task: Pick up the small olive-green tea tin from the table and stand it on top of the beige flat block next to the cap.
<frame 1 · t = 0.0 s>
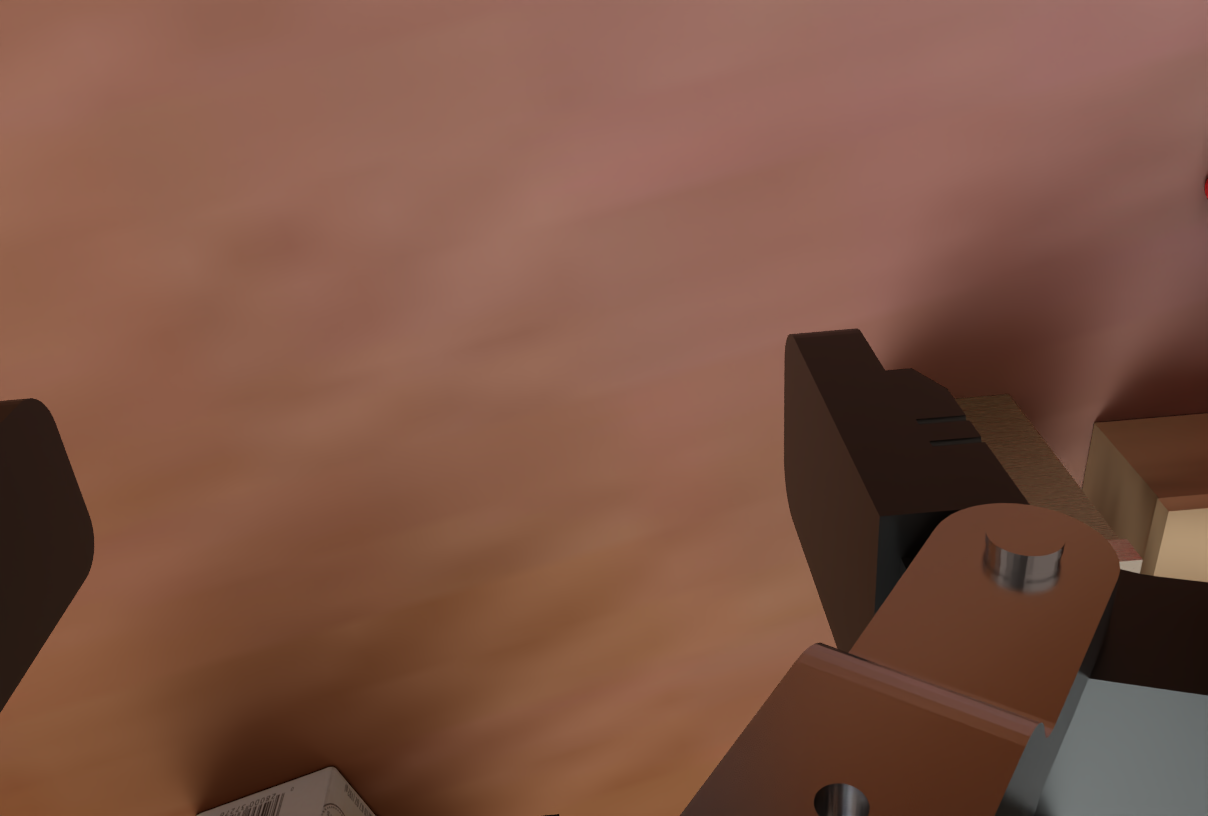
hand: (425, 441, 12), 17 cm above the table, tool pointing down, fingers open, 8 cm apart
tea tin: (928, 463, 33), on the table
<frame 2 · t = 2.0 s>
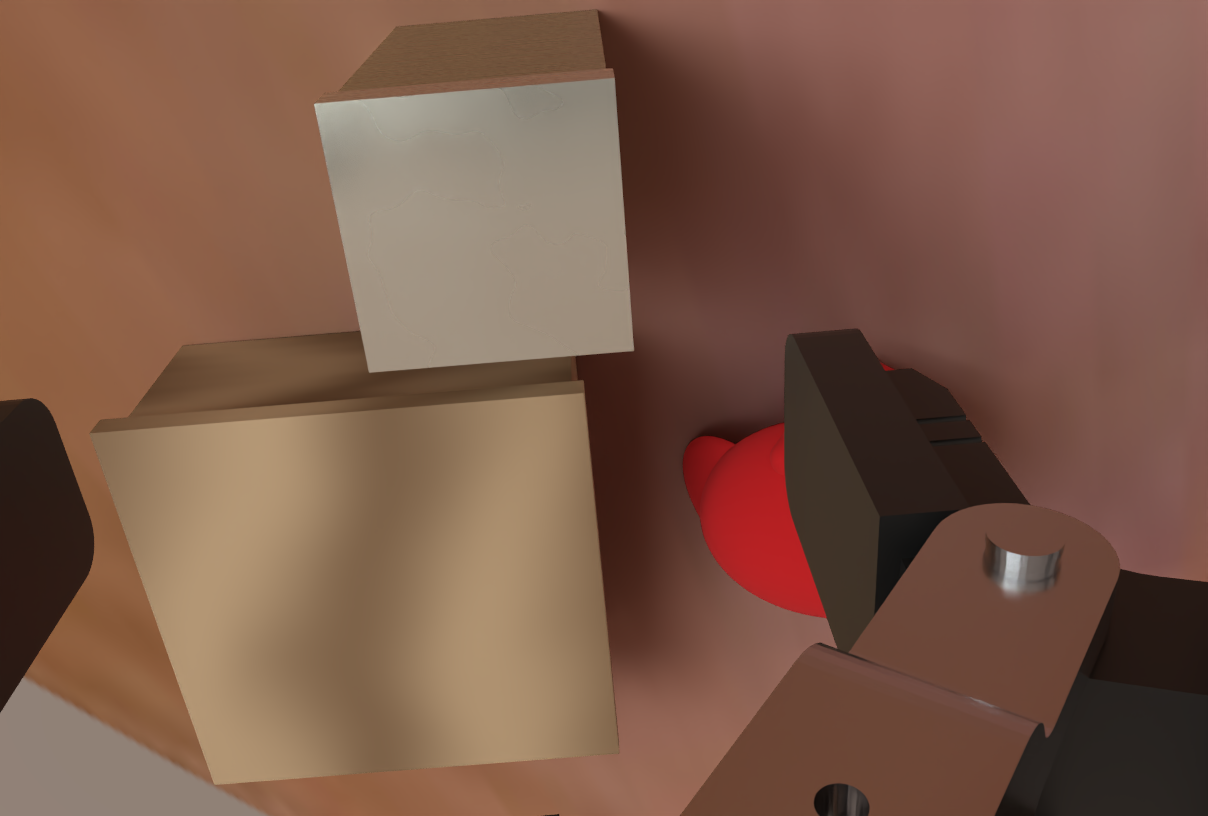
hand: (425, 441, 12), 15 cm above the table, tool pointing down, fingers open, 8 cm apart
tea tin: (508, 119, 25), on the table
cap: (812, 440, 29), on the table
beige flat block: (408, 493, 30), on the table
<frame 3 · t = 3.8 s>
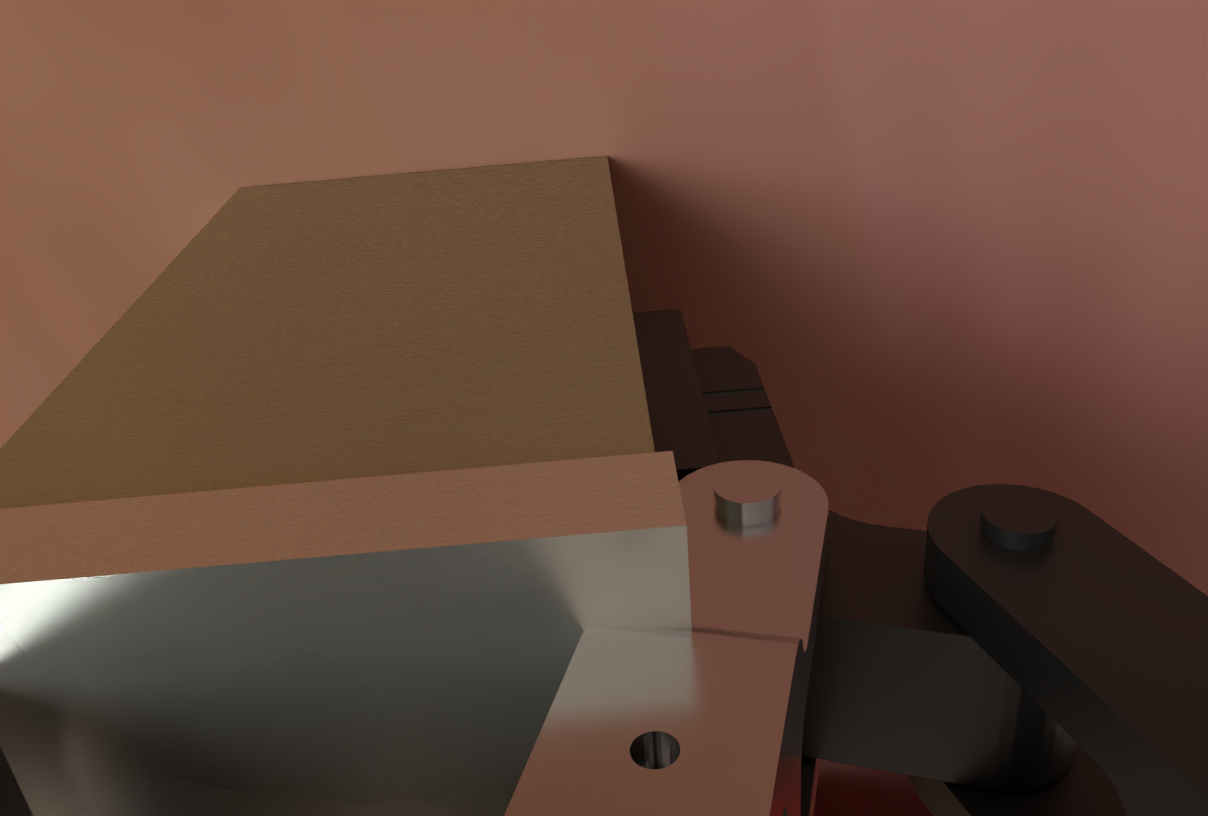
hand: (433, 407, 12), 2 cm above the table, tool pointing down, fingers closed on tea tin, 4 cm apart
tea tin: (450, 339, 14), on the table, touching gripper
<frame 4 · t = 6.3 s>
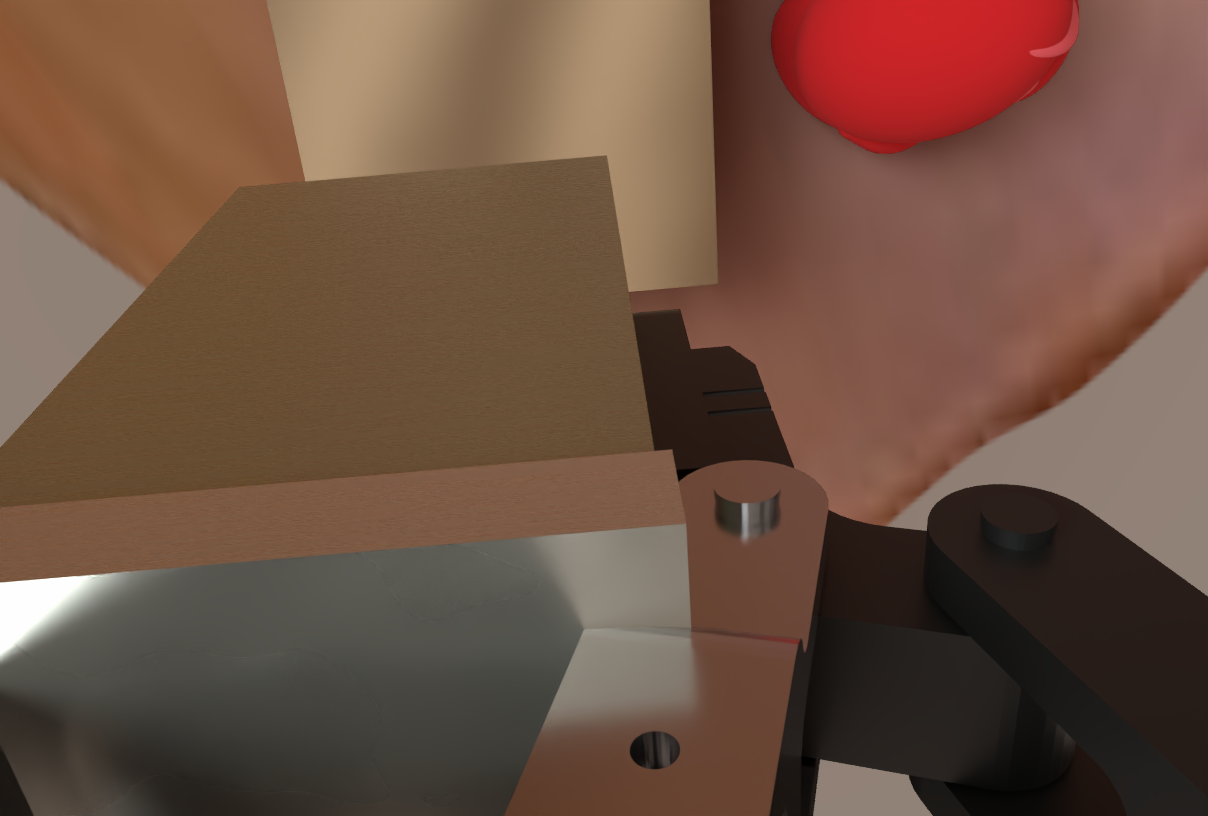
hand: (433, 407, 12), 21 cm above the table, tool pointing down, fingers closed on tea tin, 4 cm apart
tea tin: (449, 338, 14), point 19 cm above the table, touching gripper
cap: (892, 15, 31), on the table
beige flat block: (510, 68, 31), on the table
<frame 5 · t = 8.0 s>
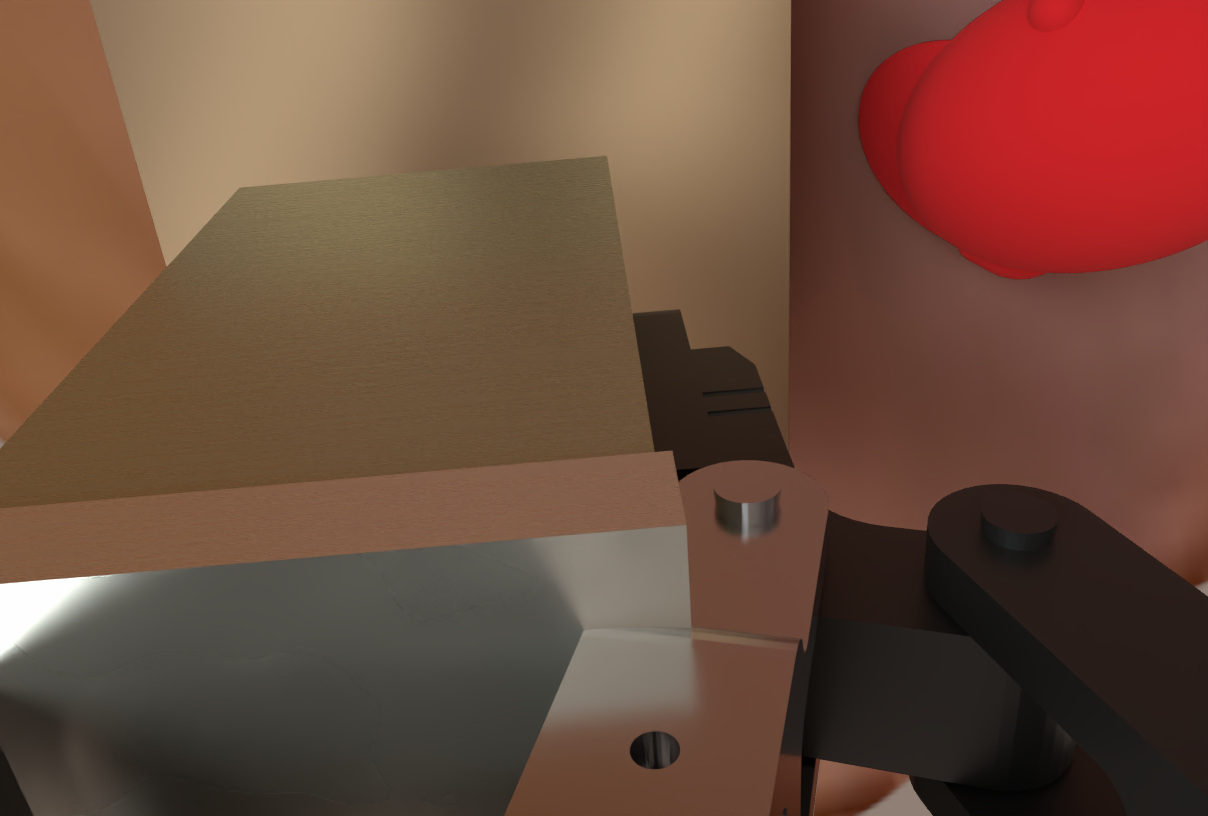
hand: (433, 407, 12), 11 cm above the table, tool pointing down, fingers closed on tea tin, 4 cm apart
tea tin: (449, 339, 14), point 9 cm above the table, touching gripper
cap: (1028, 81, 22), on the table
beige flat block: (493, 154, 22), on the table
when the fingers open (8 cm above the table, at t = 9.1 s): tea tin drops 1 cm, resting on beige flat block.
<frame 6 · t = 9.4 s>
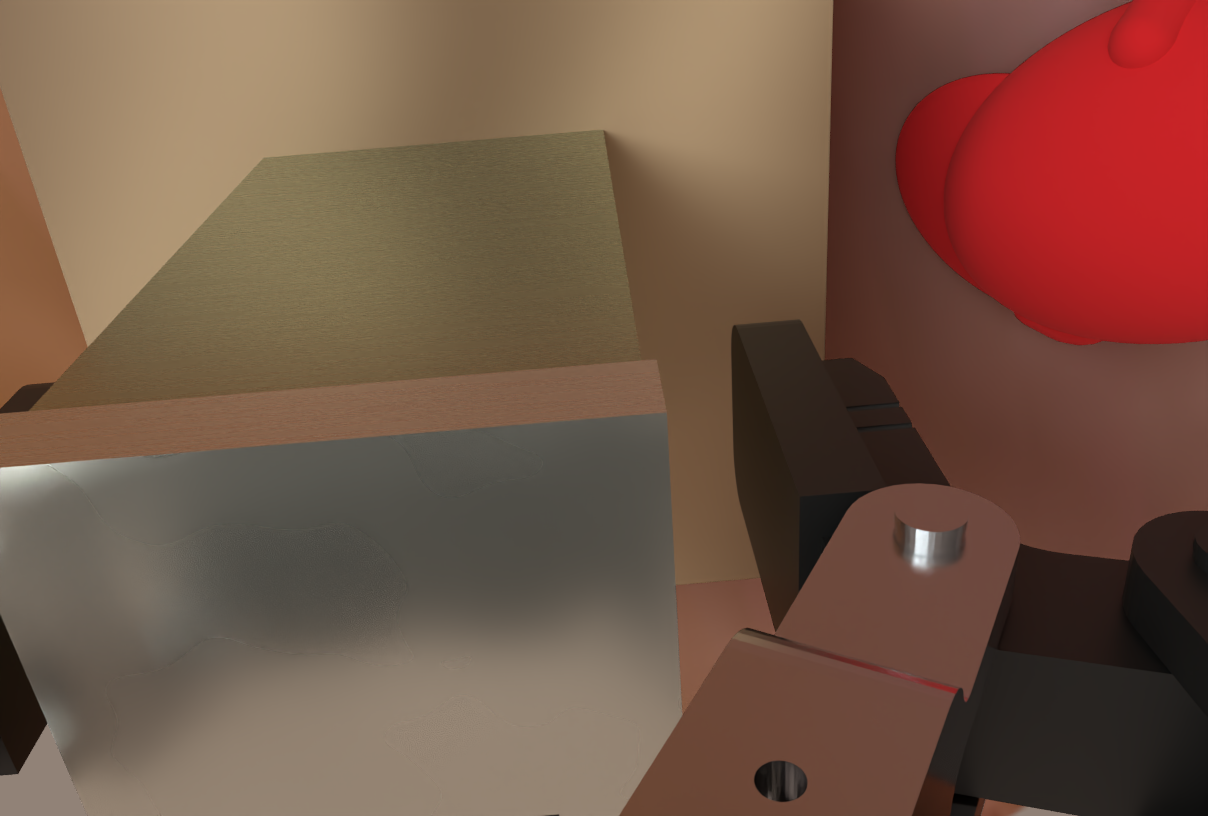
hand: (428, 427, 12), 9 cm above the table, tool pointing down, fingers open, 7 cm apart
tea tin: (456, 301, 15), point 5 cm above the table, touching beige flat block
cap: (1089, 116, 20), on the table
beige flat block: (478, 200, 20), on the table
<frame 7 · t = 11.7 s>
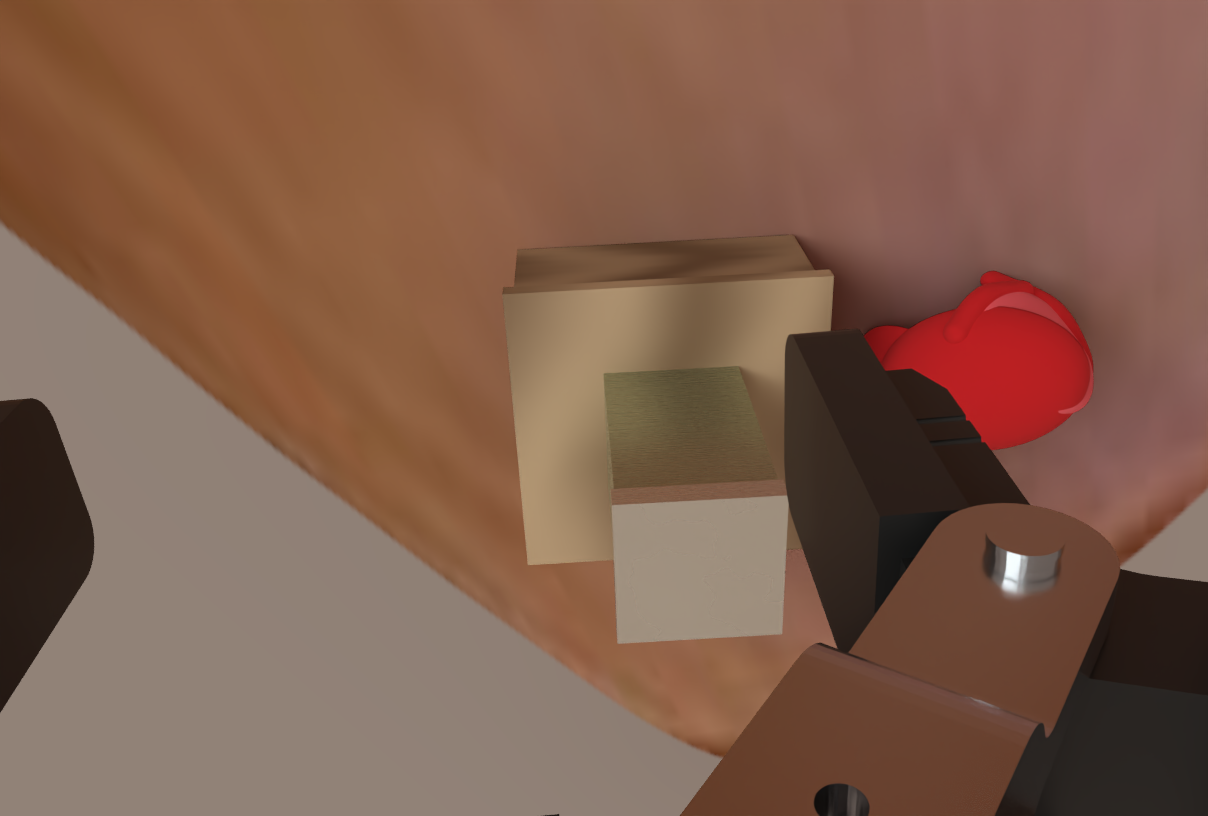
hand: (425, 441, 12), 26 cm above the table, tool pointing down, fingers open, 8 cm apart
tea tin: (671, 428, 36), point 5 cm above the table, touching beige flat block
cap: (950, 335, 41), on the table
beige flat block: (658, 366, 41), on the table
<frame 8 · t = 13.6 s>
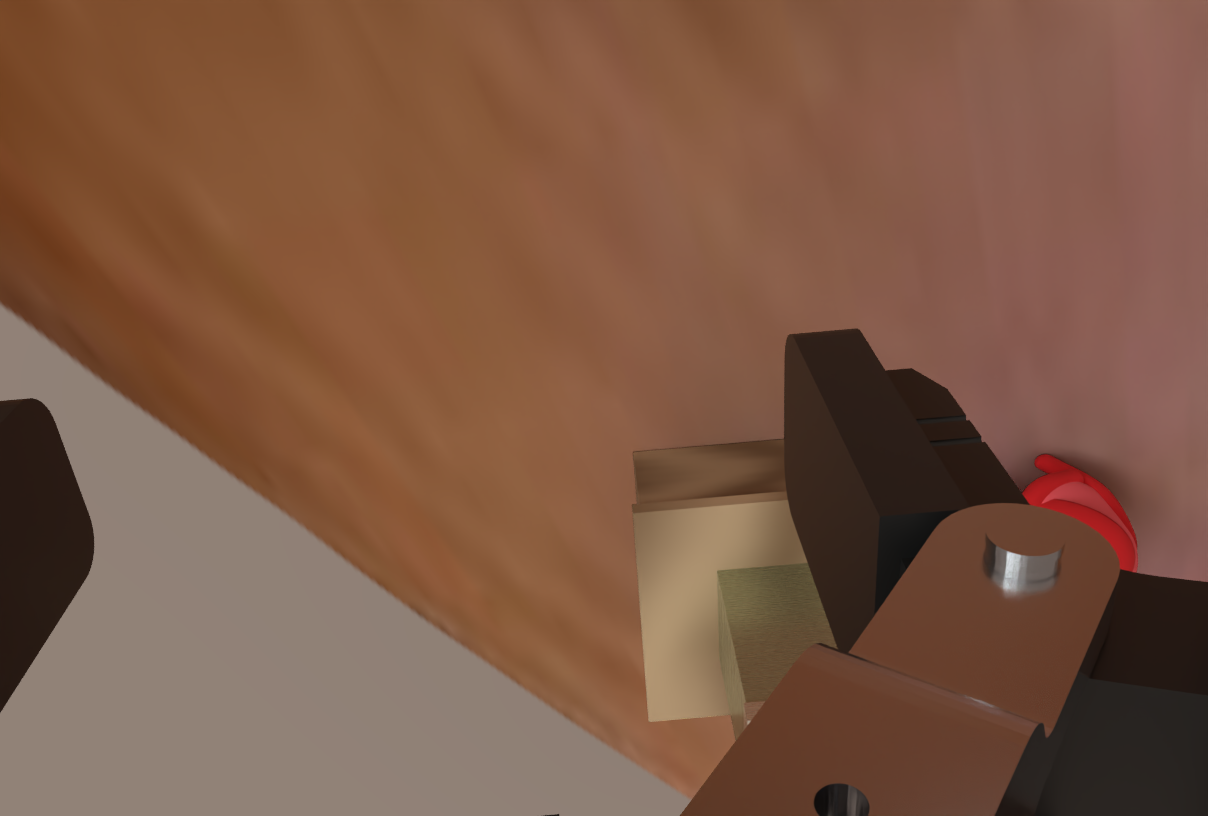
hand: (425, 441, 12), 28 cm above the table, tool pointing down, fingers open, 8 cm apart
tea tin: (774, 611, 42), point 5 cm above the table, touching beige flat block
cap: (1008, 504, 47), on the table
beige flat block: (753, 539, 47), on the table
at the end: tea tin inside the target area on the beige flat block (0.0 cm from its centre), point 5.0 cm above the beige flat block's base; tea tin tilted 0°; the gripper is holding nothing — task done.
